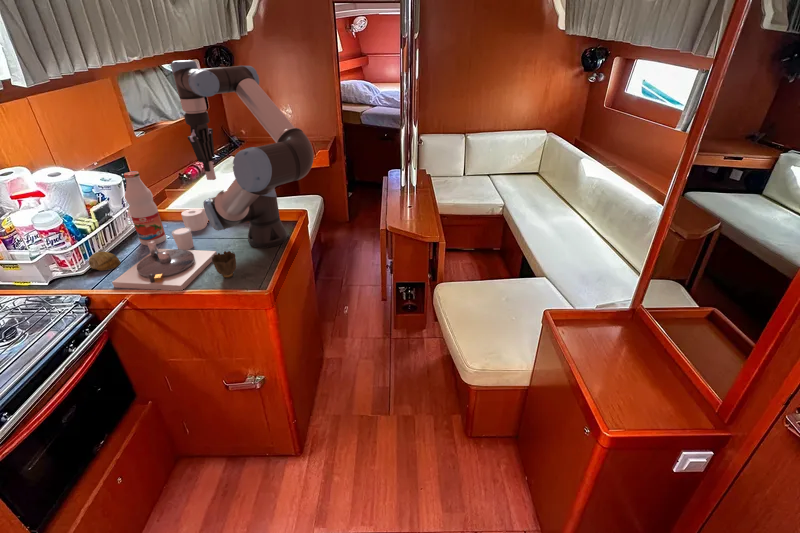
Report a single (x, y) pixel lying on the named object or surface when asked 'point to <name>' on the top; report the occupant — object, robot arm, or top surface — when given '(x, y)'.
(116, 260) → the seashell
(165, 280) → the base plate
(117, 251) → the top surface
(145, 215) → the fruit juice
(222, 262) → the cup
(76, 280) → the top surface
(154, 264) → the flange plate
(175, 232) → the pale pink cylinder
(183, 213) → the toilet paper
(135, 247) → the top surface
